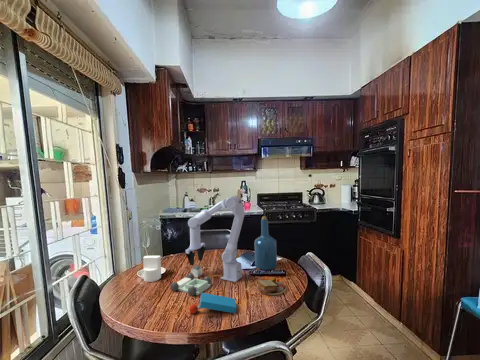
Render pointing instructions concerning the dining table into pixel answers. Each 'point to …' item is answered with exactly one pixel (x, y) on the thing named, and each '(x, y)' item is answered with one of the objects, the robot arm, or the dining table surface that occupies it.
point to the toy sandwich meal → (271, 287)
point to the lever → (214, 303)
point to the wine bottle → (265, 248)
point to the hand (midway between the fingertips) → (196, 262)
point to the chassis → (191, 285)
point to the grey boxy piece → (196, 271)
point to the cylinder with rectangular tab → (152, 268)
